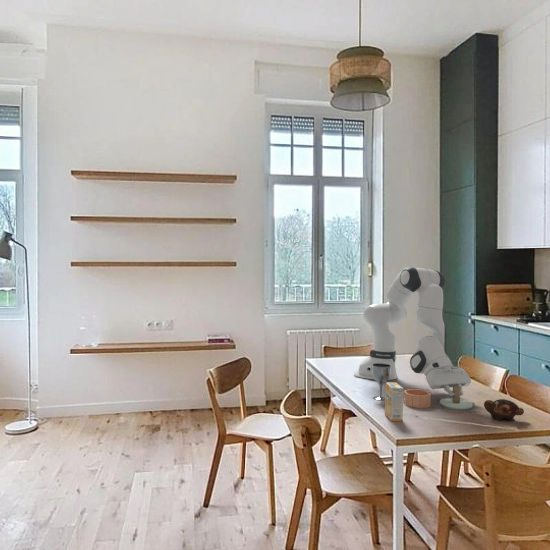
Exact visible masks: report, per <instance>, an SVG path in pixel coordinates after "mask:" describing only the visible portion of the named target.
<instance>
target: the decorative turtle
mask: <svg viewBox="0 0 550 550" xmlns="http://www.w3.org/2000/svg"><path fill="white" fill-rule="evenodd" d="M483 408H484V409H485V410H486V412H488V413H489V414H490V416H491V417H493V418H494V419H495V420H496V421H498V422H500V421H503V420H504V419H505V420H506V421H508V422H513V420H514V419H515V417H516V416H522V415H524V412H525V410H524V408H522V407H519V405H518V404H517V403H515V402H513V401H512V400H510V399H504V398H500V399H499V398H498V399H496V400H492V399H487V400H485V401H484V403H483Z"/></svg>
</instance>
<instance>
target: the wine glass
mask: <svg viewBox="0 0 550 550" xmlns="http://www.w3.org/2000/svg"><path fill="white" fill-rule="evenodd" d="M372 371H373V376H374V378H375V380H374V381H376V383H378V386H379V395H375V396H372V399H373V400H375V401H379V402H380V401H381V402H382V401H384V402H385V395H383V393H382V392H383V386H384V385H385V384H386V383H387V381H389V380H388V378H389V376H390V371H391V365H389V364H384V363H374V364H373V365H372Z"/></svg>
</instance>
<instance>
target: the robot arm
mask: <svg viewBox="0 0 550 550" xmlns="http://www.w3.org/2000/svg"><path fill="white" fill-rule="evenodd" d="M445 281H446V279H445V276H444V274H443V273H442V272H441V271H439V270H435V269H429V268H425V267H423V268H422V267H413V266H411V267H404V268H403V269H402V270H401V271H400V272H399V273H398V274H397V275H396V277H395V278H394V280H393V281H392V283H391V285H389V288H388V289H387V290H386V298H387V302H385V303H373V304H369V305H367V306H366V307H365V308H364V310H363V318H364V320H365V322H366V323H367V324H368V325H369V326H370V329H371V330H372V334H373V335H372V336H373V348H371V349H370V350H369V356H368V357H367V358H365V359H363V360H362V361H361V362H360V363H359V365H358V370H356V371H355V372H353V373H354V374H353V376H354V377H356V378H362V379H368V380H374V381H376V380H375V378H374V376H373V371H372V365H373V364H374V363H384V364H389V365H391V371H390V376H389V378H388V380H387V381H390V380H391V381H392V380H397V379H398V374H397V368H396V361H397V352H396V351H397V350H396V335H395V334H394V333H393V332H391V330H390V329H389V325H393V324H399V323H401V322H404V321H405V320H406V319H407V316H408V311H407V308H406V304H407V302H408V300H409V299H410V298H411V295H412V294H413V293H415V292H416V293H417V294H418V303H417V308H416V309H417V311H416V316H417V320H418V321H419V322H418V323H420V324H421V325H422V326H423V327H425V328H427V329H428V330H430V332H431V334H432V335H427V336H424V337H422V338H420V339H419V342H418V346H417V349H416V351H415V352H414V353H413V354H412V355H411V357H410V359H409V360H410V361H409V366H410V368H411V370H412V371H413V372H414V373H415V374H419V375H420V374H421V375H423V374H424V376H425V380H426V382H427V384H428V386H429V387H430V388H431V389H432V390H440V389H444V391H445V392H446V393H448V394H449V396H450V398H452V396H454V395H455V393H454V391H453V389H451V388H453V386H460V397H461V396H464V391H463V387H468V386H469V385H470V384H471V383H472V379H471V377H470V375H469V374H468V373H467V372H466V370H464V368H462V367H460V366H459V365H458V366H454V364H452V361H451V359H450V358H449V356H448V355H447V327H446V323H445V322H444V318H443V308H444V290H443V288H444V285H445Z"/></svg>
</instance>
